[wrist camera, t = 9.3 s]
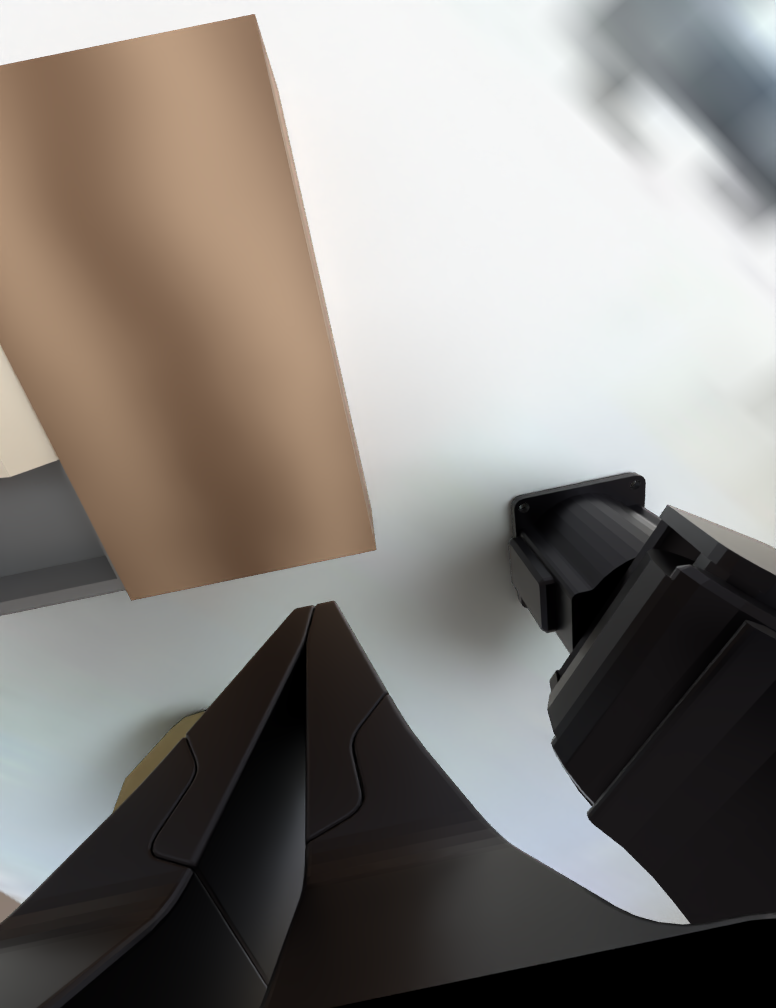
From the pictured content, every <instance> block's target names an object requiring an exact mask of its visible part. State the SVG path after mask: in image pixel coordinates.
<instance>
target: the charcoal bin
mask: <svg viewBox="0 0 776 1008" xmlns="http://www.w3.org/2000/svg"><path fill="white" fill-rule="evenodd" d="M123 590H126V589H125V587H124V585H123V583H122V581H121V579H120V577H119V576H118V574H117V572H116V570H115V568H114V566H113V564H112V562H111V560H110V558H109V556H108V554H107V552H106V550H105V548H104V546H103V544H102V542H101V540H100V538H99V536H98V534H97V533H96V531H95V529H94V527H93V525H92V523H91V521H90V519H89V517H88V515H87V513H86V511H85V509H84V507H83V505H82V503H81V501H80V499H79V497H78V495H77V493H76V491H75V489H74V488H73V486H72V484H71V482H70V480H69V478H68V476H67V474H66V472H65V470H64V468H63V466H62V464H61V462H60V460H56V461H54V462H51V463H48V464H45V465H42V466H40V467H37V468H34V469H31V470H28V471H26V472H23V473H20V474H17V475H14V476H12V477H4V478H0V616H2V615H6V614H11V613H16V612H21V611H26V610H31V609H36V608H40V607H45V606H50V605H55V604H60V603H65V602H70V601H74V600H79V599H84V598H89V597H94V596H99V595H104V594H108V593H113V592H118V591H123Z"/></svg>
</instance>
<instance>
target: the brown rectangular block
mask: <svg viewBox="0 0 776 1008" xmlns="http://www.w3.org/2000/svg"><path fill="white" fill-rule="evenodd" d="M0 345H1V347H2V349H3V351H4V353H5V355H6V357H7V358H8V360H9V362H10V364H11V366H12V368H13V370H14V372H15V374H16V376H17V378H18V380H19V382H20V384H21V386H22V388H23V390H24V392H25V394H26V396H27V398H28V400H29V401H30V403H31V405H32V407H33V409H34V411H35V413H36V415H37V417H38V419H39V421H40V423H41V425H42V427H43V429H44V431H45V433H46V435H47V437H48V439H49V441H50V443H51V445H52V446H53V448H54V450H55V452H56V454H57V456H58V458H59V460H60V462H61V464H62V466H63V468H64V470H65V472H66V474H67V476H68V478H69V480H70V482H71V484H72V486H73V488H74V489H75V491H76V493H77V495H78V497H79V499H80V501H81V503H82V505H83V507H84V509H85V511H86V513H87V515H88V517H89V519H90V521H91V523H92V525H93V527H94V529H95V531H96V533H97V534H98V536H99V538H100V540H101V542H102V544H103V546H104V548H105V550H106V552H107V554H108V556H109V558H110V560H111V562H112V564H113V566H114V568H115V570H116V572H117V574H118V576H119V577H120V579H121V581H122V583H123V585H124V587H125V589H126V591H127V593H128V595H129V597H130V599H131V601H132V600H136V599H141V598H146V597H151V596H156V595H161V594H165V593H170V592H175V591H180V590H185V589H190V588H195V587H199V586H204V585H209V584H214V583H219V582H224V581H229V580H233V579H238V578H243V577H248V576H253V575H258V574H263V573H267V572H272V571H277V570H282V569H287V568H292V567H296V566H301V565H306V564H311V563H316V562H321V561H326V560H330V559H335V558H340V557H345V556H350V555H355V554H360V553H364V552H369V551H374V550H376V543H375V535H374V527H373V518H372V510H371V506H370V501H369V497H368V492H367V488H366V483H365V479H364V474H363V470H362V465H361V461H360V456H359V452H358V447H357V443H356V438H355V434H354V429H353V425H352V420H351V416H350V411H349V407H348V402H347V398H346V393H345V389H344V384H343V380H342V375H341V371H340V366H339V362H338V357H337V353H336V348H335V344H334V339H333V335H332V330H331V326H330V321H329V317H328V312H327V308H326V303H325V299H324V294H323V290H322V285H321V281H320V276H319V272H318V267H317V263H316V258H315V254H314V249H313V245H312V240H311V236H310V231H309V227H308V222H307V218H306V213H305V209H304V204H303V200H302V195H301V191H300V187H299V182H298V178H297V173H296V169H295V164H294V160H293V155H292V151H291V146H290V142H289V137H288V133H287V128H286V124H285V119H284V115H283V110H282V106H281V101H280V97H279V92H278V88H277V85H276V82H275V78H274V75H273V72H272V69H271V65H270V62H269V59H268V56H267V52H266V49H265V46H264V43H263V39H262V36H261V33H260V30H259V26H258V23H257V20H256V17H255V14H252V15H247V16H243V17H238V18H233V19H228V20H223V21H218V22H213V23H208V24H203V25H198V26H193V27H188V28H183V29H178V30H173V31H169V32H164V33H159V34H154V35H149V36H144V37H139V38H134V39H129V40H124V41H119V42H114V43H109V44H104V45H99V46H95V47H90V48H85V49H80V50H75V51H70V52H65V53H60V54H55V55H50V56H45V57H40V58H35V59H30V60H25V61H21V62H16V63H11V64H6V65H1V66H0Z"/></svg>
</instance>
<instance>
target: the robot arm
mask: <svg viewBox="0 0 776 1008" xmlns="http://www.w3.org/2000/svg"><path fill="white" fill-rule="evenodd" d="M635 480H636V482H635V484H634V485H633V486H632V487H630V485H631V483H632V482H633V481H635ZM645 485H646V482H645V479H644V477H642V476H641V475H639V474H637V473H627V474H623V475H618V476H613V477H608V478H603V479H598V480H593V481H589V482H584V483H579V484H574V485H569V486H564V487H559V488H555V489H550V490H545V491H540V492H535V493H530V494H525V495H521V496H518V497H516V498H515V499H514V500H513V502H512V505H511V510H512V522H513V534H514V537H512V538H511V540H510V541H509V543H508V544H509V555H510V566H511V578H512V583H513V585H514V586H515V588H516V590H517V591H518V596H519V600H520V602H521V604H522V605H523V606H524V607H526V608H528V609H529V611H530V612H531V614H532V615H533V617H534V619H535V620H536V622H537V623H538V625H539V627H540V628H541V629H542V630H543V631H545V632H546V633H550V632H554V631H555V632H556V634H557V635H558V637H559V638H560V640H561V641H562V643H563V644H564V646H565V647H566V649H567V650H568V652H569V653H570V655H569V657H568V658H567V660H566V661H565V663H564V664H563V666H562V667H561V669H560V670H556V671H555V673H554V674H553V676H552V677H551V679H550V687H551V693H550V695H549V702H548V709H547V710H548V714H549V717H550V721H551V725H552V728H553V732H554V734H555V736H554V738H553V739H552V742H551V744H552V747H553V750H554V752H555V754H556V756H557V757H558V759H559V761H560V762H561V764H562V766H563V768H564V769H565V771H566V773H567V774H568V775H569V777H570V778H571V780H572V781H573V783H574V784H575V786H576V787H577V789H578V790H579V792H580V793H581V794H582V795H583V796H584V798H585V799H586V800H587V801H588V802H589V803H590V805H591V806H592V807H591V808H590V810H589V811H588V812H587V816H588V818H589V820H590V821H591V822H592V823H593V824H594V825H595V826H596V827H598V828H599V829H600V830H601V831H603V832H604V833H605V834H606V835H608V836H609V837H610V838H612V839H613V840H614V841H615V842H617V843H618V844H619V845H621V846H622V847H623V848H624V849H625V850H626V851H627V852H628V853H629V854H630V855H631V856H632V857H633V858H634V859H635V860H636V861H637V862H638V863H639V864H640V865H641V866H642V867H643V868H644V869H645V870H646V871H647V872H648V873H649V874H650V875H651V876H652V877H653V878H654V879H655V880H656V881H657V883H658V884H659V885H660V886H661V887H662V889H663V890H664V891H665V892H666V893H667V895H668V896H669V897H670V898H671V899H672V901H673V902H674V903H675V904H676V906H677V907H678V908H679V909H680V911H681V912H682V913H683V915H684V916H685V917H686V918H687V920H688V921H689V922H690V924H684V925H681V924H672V923H662V922H656V921H653V920H649V919H645V918H642V917H638V916H635V915H633V914H631V913H629V912H627V911H624V910H622V909H620V908H618V907H616V906H614V905H613V904H611V903H609V902H608V901H606V900H604V899H603V898H601V897H599V896H597V895H596V894H594V893H592V892H591V891H589V890H587V889H586V888H584V887H582V886H581V885H579V884H577V883H576V882H574V881H572V880H570V879H569V878H567V877H565V876H564V875H562V874H560V873H559V872H557V871H555V870H554V869H552V868H550V867H549V866H547V865H545V864H543V863H542V862H540V861H538V860H537V859H535V858H533V857H532V856H530V855H528V854H527V853H525V852H523V851H522V850H520V849H518V848H517V847H515V846H514V845H512V844H511V843H509V842H508V841H507V840H505V839H504V838H503V837H502V836H501V835H500V834H499V833H498V832H497V831H496V830H495V829H494V828H493V827H492V826H491V825H490V824H489V823H488V822H487V821H486V820H485V819H484V818H483V817H482V815H481V814H480V813H479V812H478V811H477V810H476V809H475V807H474V806H473V805H472V804H471V803H470V801H469V800H468V799H467V798H466V797H465V795H464V794H463V793H462V792H461V791H460V789H459V788H458V787H457V786H456V785H455V783H454V782H453V781H452V780H451V779H450V777H449V776H448V775H447V774H446V773H445V771H444V770H443V769H442V768H441V767H440V765H439V764H438V763H437V762H436V761H435V759H434V758H433V757H432V756H431V755H430V753H429V752H428V751H427V750H426V748H425V747H424V746H423V744H422V743H421V742H420V741H419V739H418V738H417V737H416V735H415V734H414V733H413V731H412V730H411V729H410V727H409V725H408V724H407V722H406V721H405V719H404V718H403V716H402V715H401V713H400V711H399V710H398V708H397V707H396V705H395V703H394V701H393V700H392V698H391V696H390V695H389V693H388V691H387V690H386V688H385V686H384V684H383V683H382V681H381V679H380V678H379V676H378V674H377V672H376V671H375V669H374V667H373V665H372V664H371V662H370V660H369V659H368V657H367V655H366V653H365V652H364V650H363V648H362V646H361V645H360V643H359V641H358V639H357V638H356V636H355V634H354V633H353V631H352V629H351V627H350V626H349V624H348V622H347V620H346V619H345V617H344V615H343V614H342V612H341V610H340V608H339V607H338V605H337V603H336V602H335V601H330V602H325V603H320V604H317V605H316V606H313V605H311V606H306V607H301V608H297V609H295V610H294V611H293V612H292V613H291V614H290V615H289V616H288V617H287V618H286V620H285V621H284V622H283V623H282V624H281V625H280V626H279V628H278V629H277V630H276V631H275V632H274V633H273V634H272V636H271V637H270V638H269V639H268V640H267V641H266V642H265V644H264V645H263V646H262V647H261V648H260V649H259V650H258V652H257V653H256V654H255V655H254V656H253V657H252V658H251V660H250V661H249V662H248V663H247V664H246V665H245V666H244V668H243V669H242V670H241V671H240V672H239V673H238V675H237V676H236V677H235V678H234V679H233V680H232V681H231V683H230V684H229V685H228V686H227V687H226V688H225V689H224V691H223V692H222V693H221V694H220V695H219V696H218V697H217V699H216V700H215V701H214V702H213V703H212V704H211V705H210V707H209V708H208V709H207V710H206V711H205V712H204V713H203V715H202V716H201V717H200V718H199V719H198V720H197V721H196V723H195V724H194V725H193V726H192V727H191V728H190V729H189V731H188V732H187V733H186V738H185V737H183V738H181V740H180V741H179V742H178V743H177V744H176V745H175V746H174V748H173V749H172V750H171V751H170V752H169V753H168V754H167V756H166V757H165V758H164V759H163V760H162V761H161V762H160V763H159V764H158V766H157V767H156V768H155V769H154V770H153V771H152V772H151V773H150V774H149V775H148V777H147V778H146V779H145V780H144V781H143V782H142V783H141V784H140V785H139V786H138V787H137V788H136V789H135V790H134V791H133V793H132V794H131V795H130V796H129V797H128V798H127V799H126V800H125V801H124V802H123V803H122V804H121V805H120V806H119V807H118V808H117V809H116V810H115V811H114V812H113V813H112V814H111V815H110V816H109V817H108V818H107V819H106V820H105V821H104V822H103V823H102V824H101V825H100V826H99V827H98V828H97V829H96V830H95V831H94V832H93V833H92V834H91V835H90V836H89V837H88V838H87V839H86V840H85V841H84V842H83V843H82V844H81V845H80V846H79V847H78V848H77V849H76V850H75V851H74V852H73V853H72V854H71V855H70V856H69V857H68V858H67V859H66V860H65V861H64V862H63V863H62V864H61V865H60V866H59V867H58V868H57V869H56V870H55V871H54V872H53V873H52V874H51V875H50V876H49V877H48V878H47V879H46V880H45V881H44V882H43V883H42V884H41V885H40V886H39V887H38V888H37V889H36V890H35V891H34V892H33V893H32V894H31V895H30V896H29V897H28V898H27V899H26V900H25V901H24V902H23V903H22V904H21V905H20V906H19V907H18V908H17V909H16V910H15V911H14V912H13V913H12V914H11V915H10V916H8V918H6V919H5V920H4V921H3V922H2V923H0V1008H776V549H775V548H773V547H771V546H769V545H767V544H765V543H763V542H761V541H758V540H756V539H753V538H751V537H748V536H746V535H743V534H741V533H738V532H736V531H733V530H731V529H728V528H726V527H723V526H721V525H718V524H716V523H713V522H711V521H708V520H706V519H703V518H701V517H698V516H696V515H693V514H690V513H688V512H685V511H683V510H680V509H678V508H675V507H673V506H670V505H667V506H666V508H665V509H664V511H663V512H662V514H661V515H660V517H658V516H657V515H655V514H653V513H652V512H650V511H649V510H647V509H646V508H644V504H645ZM523 503H526V507H525V508H524V509H519V506H520V505H521V504H523Z"/></svg>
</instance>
